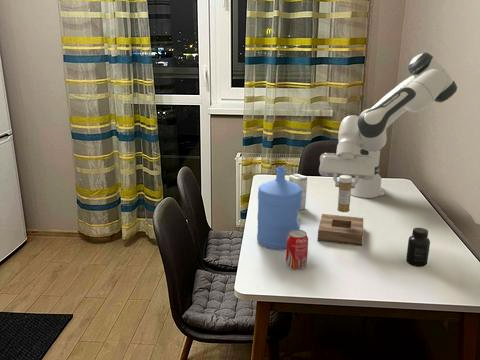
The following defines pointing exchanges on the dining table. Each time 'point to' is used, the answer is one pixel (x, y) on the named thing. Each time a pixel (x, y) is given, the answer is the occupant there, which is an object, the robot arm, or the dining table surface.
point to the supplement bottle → (418, 248)
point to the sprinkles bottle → (344, 193)
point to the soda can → (296, 249)
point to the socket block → (341, 229)
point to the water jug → (277, 211)
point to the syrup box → (302, 183)
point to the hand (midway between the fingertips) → (345, 187)
